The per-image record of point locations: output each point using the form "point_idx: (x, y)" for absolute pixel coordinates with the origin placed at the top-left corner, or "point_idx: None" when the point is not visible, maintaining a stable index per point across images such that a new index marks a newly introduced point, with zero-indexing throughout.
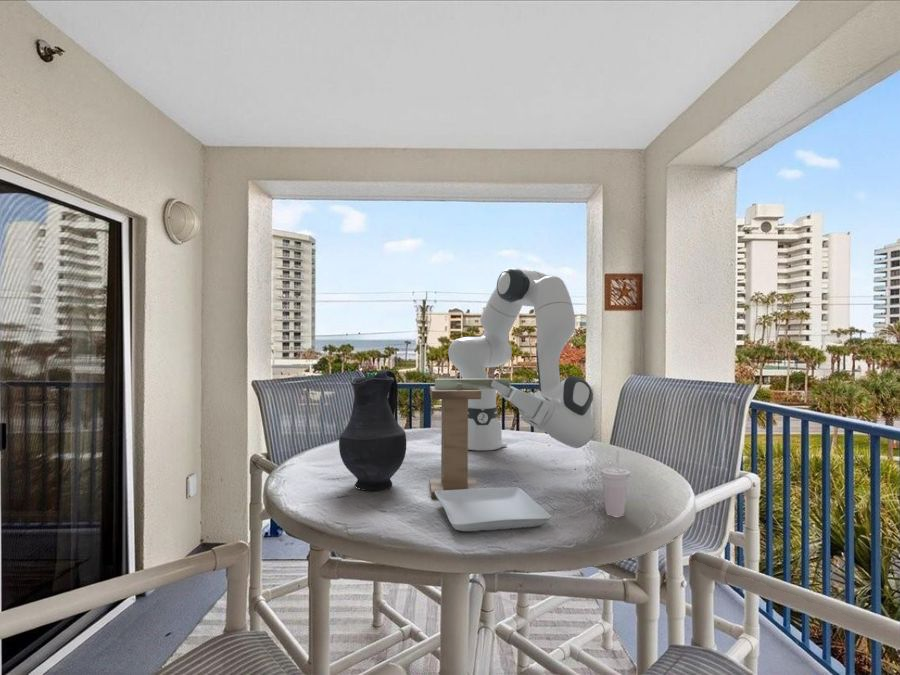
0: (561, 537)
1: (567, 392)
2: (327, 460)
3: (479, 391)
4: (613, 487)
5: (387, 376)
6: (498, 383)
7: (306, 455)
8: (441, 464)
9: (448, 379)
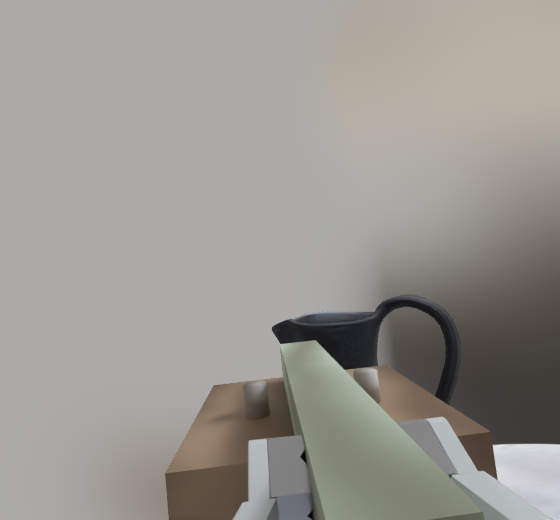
0: None
1: None
2: (521, 476)
3: (169, 471)
4: None
5: (373, 315)
6: (249, 493)
7: (530, 447)
8: None
9: (284, 352)
